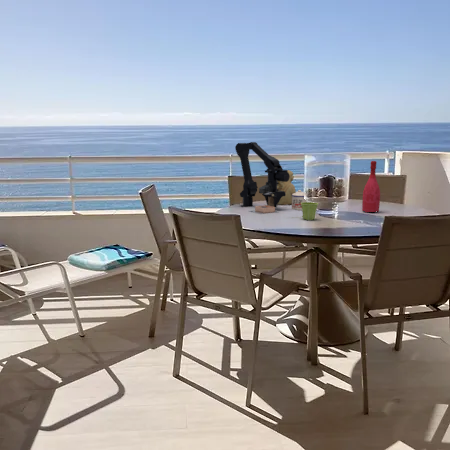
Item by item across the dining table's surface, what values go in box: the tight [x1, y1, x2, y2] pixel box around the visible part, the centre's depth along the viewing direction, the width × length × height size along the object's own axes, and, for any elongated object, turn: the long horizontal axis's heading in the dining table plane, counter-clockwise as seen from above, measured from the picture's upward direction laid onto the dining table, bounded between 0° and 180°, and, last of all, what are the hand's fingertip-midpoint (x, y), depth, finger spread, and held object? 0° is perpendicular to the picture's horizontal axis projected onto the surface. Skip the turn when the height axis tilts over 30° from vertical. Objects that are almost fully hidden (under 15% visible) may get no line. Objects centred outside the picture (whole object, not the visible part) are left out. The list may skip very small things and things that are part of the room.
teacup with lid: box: [291, 189, 307, 211], centre depth 303 cm, size 12×9×12 cm
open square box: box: [254, 204, 276, 214], centre depth 288 cm, size 8×8×3 cm
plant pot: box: [301, 201, 319, 221], centre depth 272 cm, size 9×9×9 cm
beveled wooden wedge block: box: [268, 197, 274, 207], centre depth 300 cm, size 2×4×8 cm, turn 122°
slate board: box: [248, 209, 278, 215], centre depth 289 cm, size 12×14×1 cm
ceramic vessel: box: [272, 165, 297, 206], centre depth 324 cm, size 17×20×25 cm
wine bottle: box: [361, 160, 381, 213], centre depth 295 cm, size 10×10×30 cm
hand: (271, 206), depth 301 cm, fingers open, 6 cm apart
